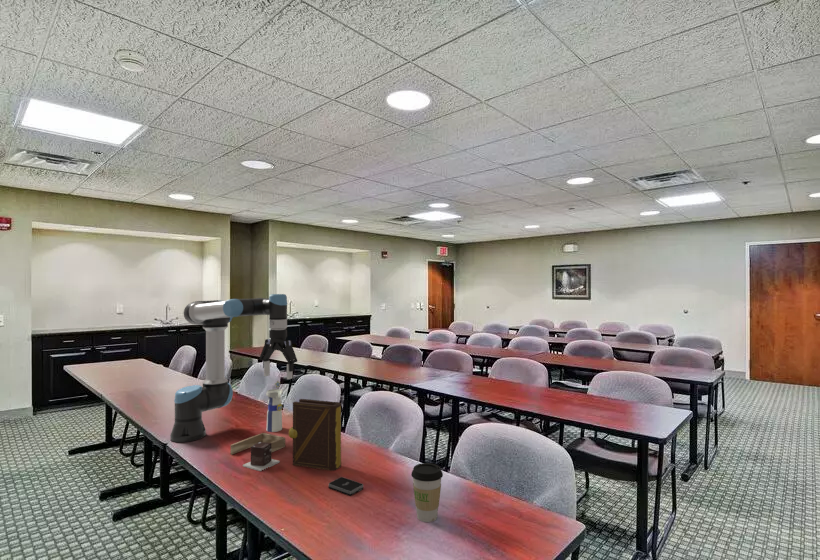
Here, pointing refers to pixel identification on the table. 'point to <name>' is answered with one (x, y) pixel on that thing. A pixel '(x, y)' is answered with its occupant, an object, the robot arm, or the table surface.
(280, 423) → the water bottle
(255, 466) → the tile
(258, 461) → the box
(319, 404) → the book
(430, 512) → the coffee cup
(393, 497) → the table surface
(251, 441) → the wooden frame
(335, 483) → the external hard drive
